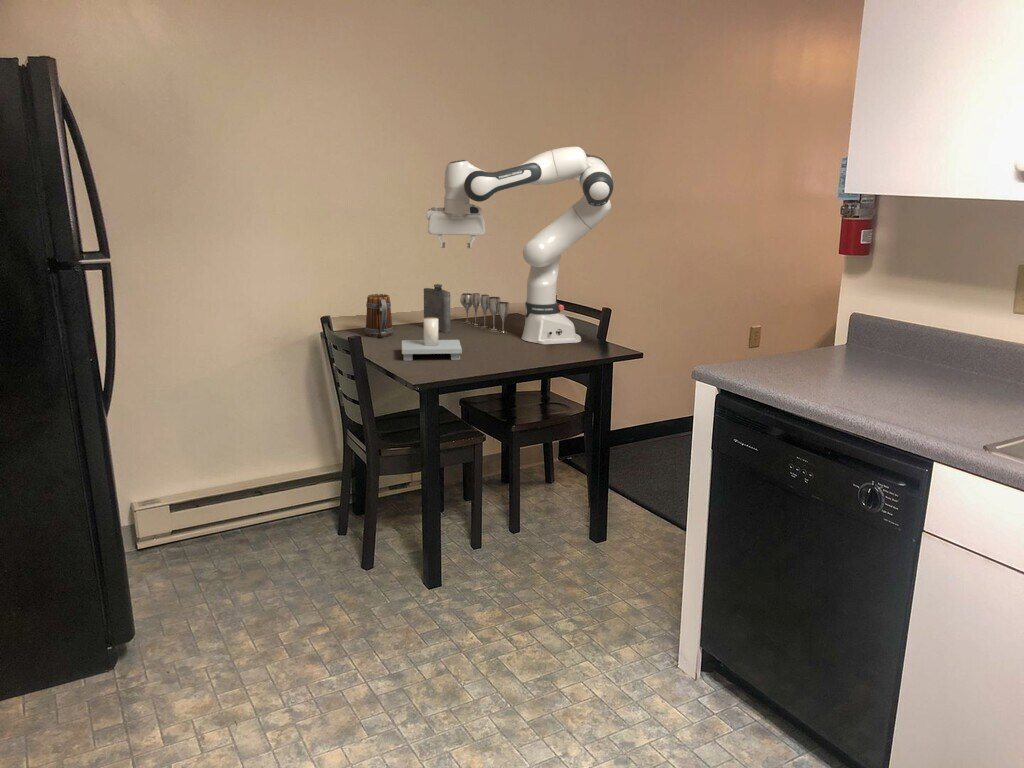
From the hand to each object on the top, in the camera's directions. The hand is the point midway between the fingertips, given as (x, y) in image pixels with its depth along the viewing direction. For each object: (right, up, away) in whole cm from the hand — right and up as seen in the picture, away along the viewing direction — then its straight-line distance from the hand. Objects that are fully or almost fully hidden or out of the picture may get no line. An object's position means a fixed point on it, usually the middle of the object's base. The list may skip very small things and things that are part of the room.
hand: (456, 247), depth 286 cm
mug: (-30, -30, +20) cm, 47 cm away
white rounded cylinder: (-8, -35, -9) cm, 37 cm away
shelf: (-8, -39, -8) cm, 40 cm away
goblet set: (+9, -26, +39) cm, 47 cm away
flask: (-10, -27, +32) cm, 43 cm away
